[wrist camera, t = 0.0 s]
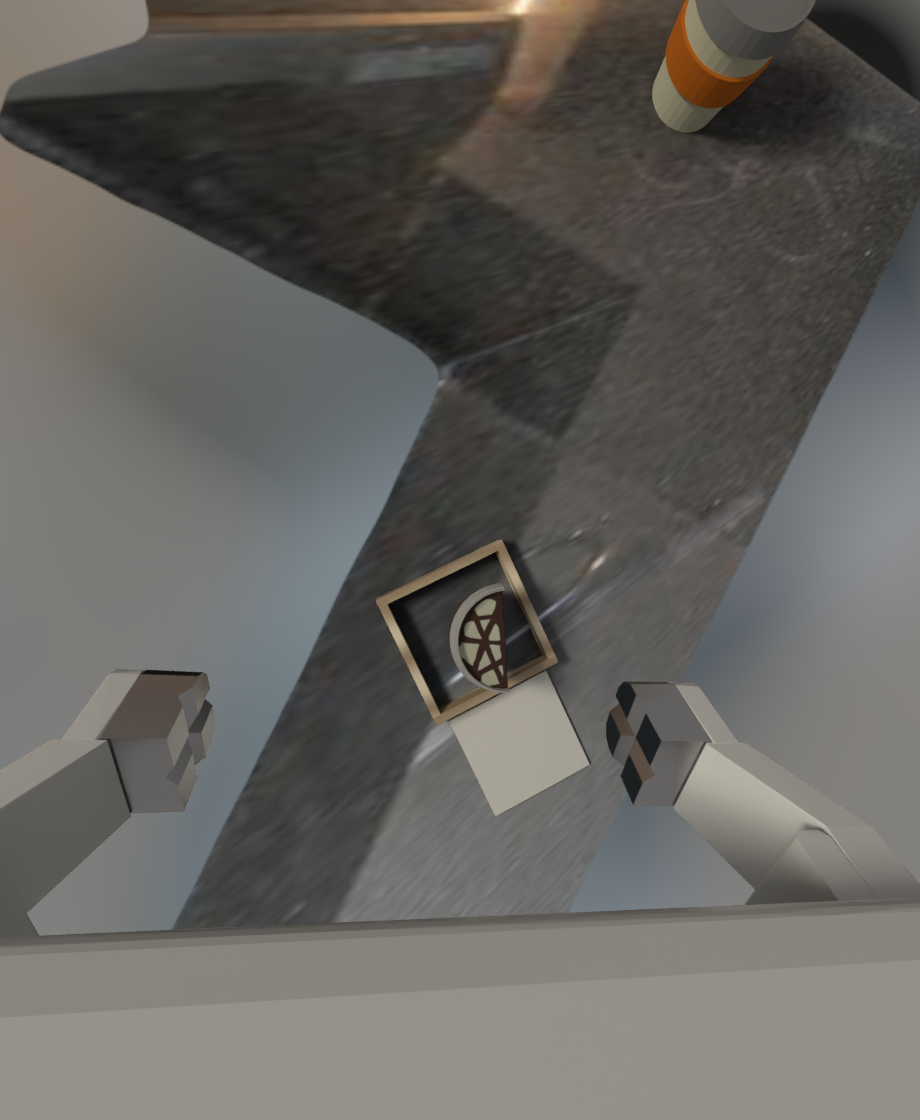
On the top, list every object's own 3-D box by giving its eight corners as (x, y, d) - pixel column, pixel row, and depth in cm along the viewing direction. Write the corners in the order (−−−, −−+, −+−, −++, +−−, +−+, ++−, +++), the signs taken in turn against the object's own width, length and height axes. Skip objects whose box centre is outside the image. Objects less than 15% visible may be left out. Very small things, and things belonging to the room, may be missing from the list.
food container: (439, 582, 65) (448, 588, 55) (487, 579, 66) (504, 584, 56) (445, 679, 65) (455, 702, 55) (492, 674, 66) (511, 696, 56)
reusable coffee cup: (743, 120, 69) (841, 3, 54) (669, 163, 68) (749, 56, 53) (697, 32, 68) (784, -112, 53) (621, 75, 67) (688, -61, 52)
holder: (552, 657, 67) (558, 662, 65) (434, 718, 65) (436, 725, 63) (497, 540, 66) (502, 539, 63) (376, 598, 64) (375, 600, 61)
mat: (588, 763, 68) (589, 764, 68) (494, 814, 67) (495, 816, 66) (545, 670, 67) (546, 670, 67) (448, 720, 65) (449, 721, 65)
